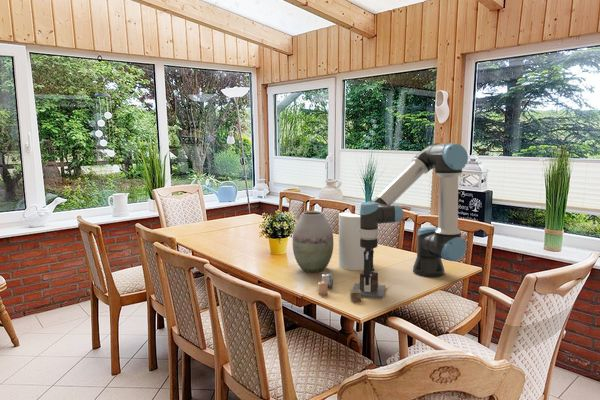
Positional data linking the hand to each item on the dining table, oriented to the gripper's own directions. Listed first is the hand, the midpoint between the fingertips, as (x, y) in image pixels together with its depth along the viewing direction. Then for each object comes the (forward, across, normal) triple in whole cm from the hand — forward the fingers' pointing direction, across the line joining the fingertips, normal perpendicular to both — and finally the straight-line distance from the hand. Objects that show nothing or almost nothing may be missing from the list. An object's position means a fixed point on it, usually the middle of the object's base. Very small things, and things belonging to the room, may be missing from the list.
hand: (368, 288), depth 187 cm
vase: (+2, -27, -32) cm, 42 cm away
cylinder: (+2, -39, -12) cm, 41 cm away
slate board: (+2, 0, 0) cm, 2 cm away
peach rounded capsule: (+2, +7, -19) cm, 20 cm away
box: (+1, 0, 0) cm, 1 cm away
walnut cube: (+2, +11, -4) cm, 12 cm away
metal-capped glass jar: (+2, -2, -19) cm, 19 cm away
